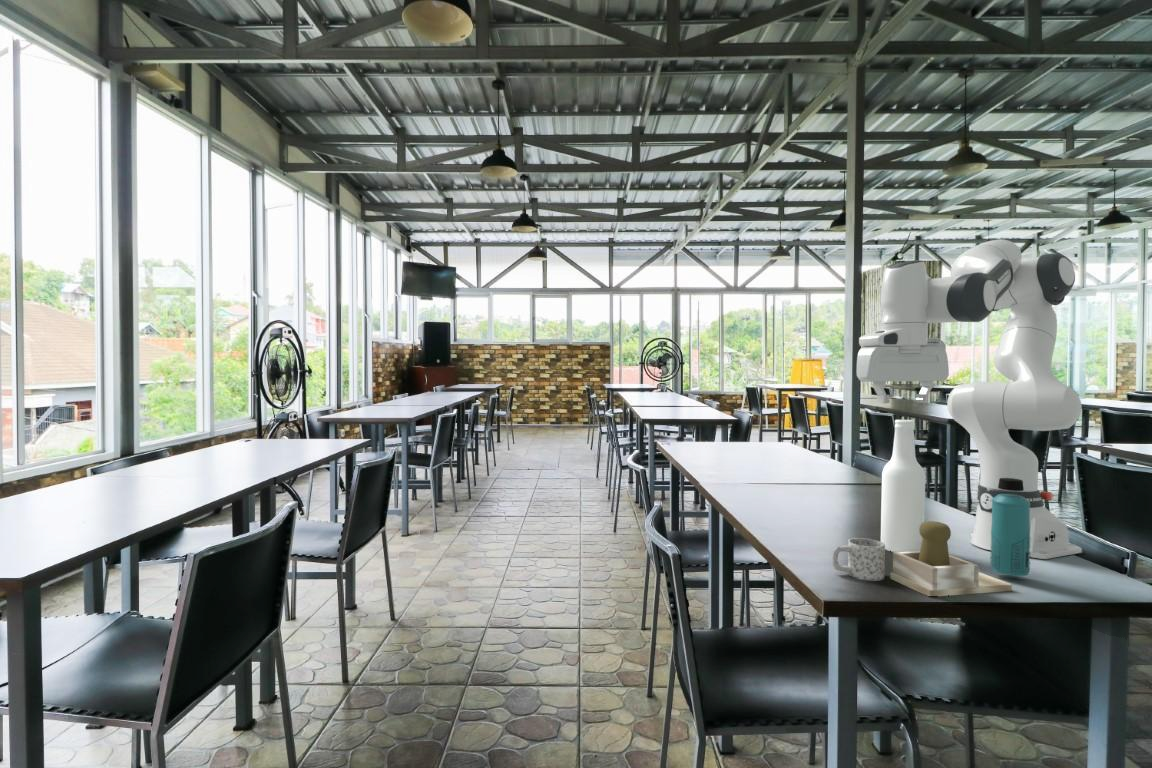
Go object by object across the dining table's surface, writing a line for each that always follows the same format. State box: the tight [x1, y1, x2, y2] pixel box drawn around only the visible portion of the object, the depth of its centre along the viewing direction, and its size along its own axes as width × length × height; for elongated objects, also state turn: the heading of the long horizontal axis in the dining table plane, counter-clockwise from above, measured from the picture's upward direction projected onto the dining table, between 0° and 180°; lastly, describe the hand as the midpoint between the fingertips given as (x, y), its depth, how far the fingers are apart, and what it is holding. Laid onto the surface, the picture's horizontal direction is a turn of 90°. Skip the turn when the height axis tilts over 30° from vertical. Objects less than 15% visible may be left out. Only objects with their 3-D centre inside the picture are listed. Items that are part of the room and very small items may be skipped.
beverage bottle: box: [989, 478, 1031, 577], centre depth 121 cm, size 6×7×20 cm
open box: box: [889, 551, 1013, 597], centre depth 117 cm, size 18×10×5 cm, turn 102°
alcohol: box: [880, 419, 926, 553], centre depth 140 cm, size 9×9×30 cm
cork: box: [919, 520, 952, 567], centre depth 116 cm, size 6×6×11 cm
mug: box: [832, 537, 886, 582], centre depth 122 cm, size 10×7×7 cm
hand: (902, 402), depth 129 cm, fingers open, 8 cm apart
